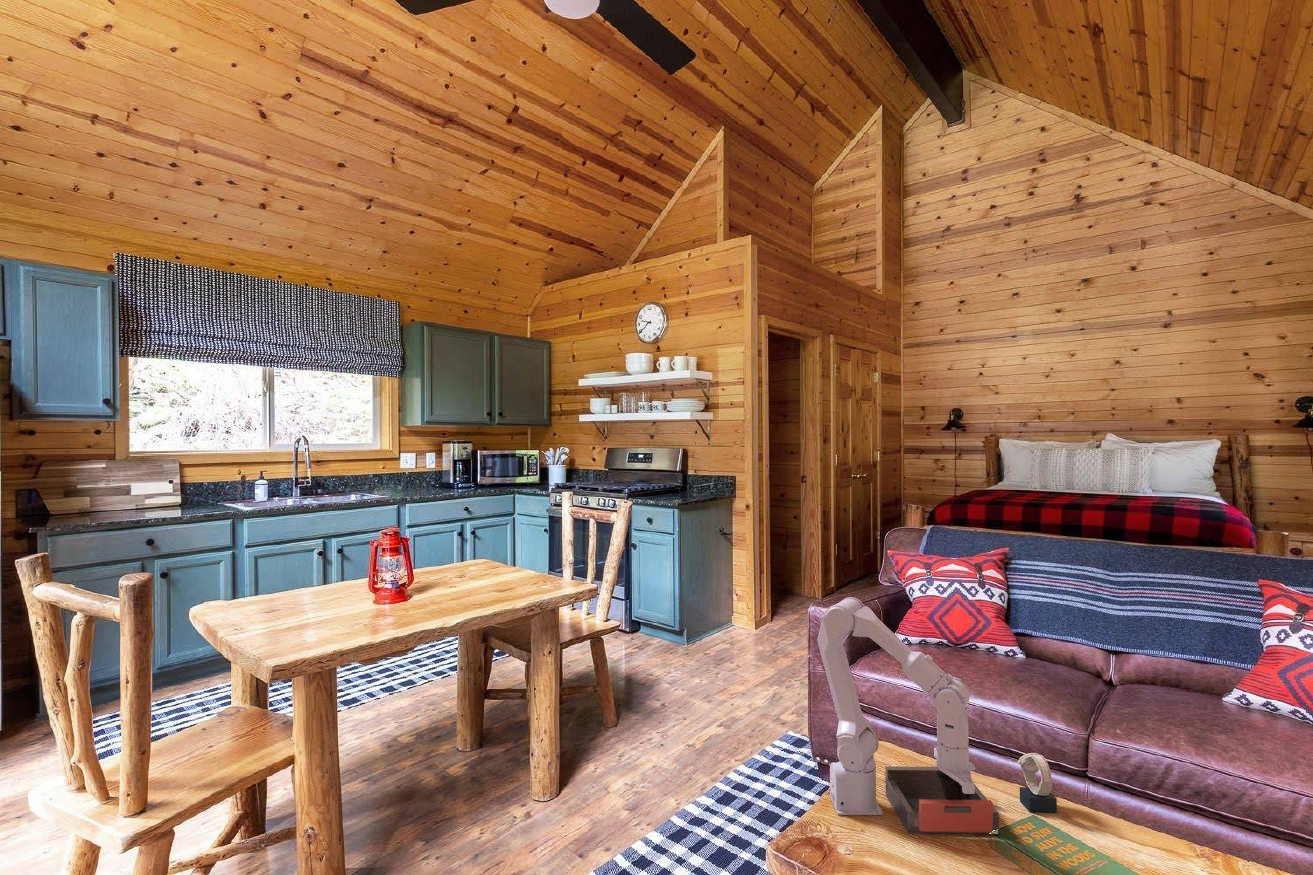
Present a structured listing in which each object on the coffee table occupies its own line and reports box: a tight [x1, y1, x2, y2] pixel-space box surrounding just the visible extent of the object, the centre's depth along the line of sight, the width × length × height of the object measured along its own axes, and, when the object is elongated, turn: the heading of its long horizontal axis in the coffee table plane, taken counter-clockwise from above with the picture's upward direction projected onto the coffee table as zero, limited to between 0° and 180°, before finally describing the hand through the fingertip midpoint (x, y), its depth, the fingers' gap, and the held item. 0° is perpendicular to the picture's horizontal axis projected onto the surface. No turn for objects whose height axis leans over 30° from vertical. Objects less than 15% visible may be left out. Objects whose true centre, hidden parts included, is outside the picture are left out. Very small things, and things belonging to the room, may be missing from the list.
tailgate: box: [918, 799, 994, 832], centre depth 128 cm, size 14×2×6 cm, turn 88°
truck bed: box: [884, 765, 1000, 836], centre depth 137 cm, size 18×14×6 cm
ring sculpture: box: [1017, 752, 1058, 814], centre depth 139 cm, size 6×8×11 cm
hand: (953, 810), depth 129 cm, fingers closed, pressing on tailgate
